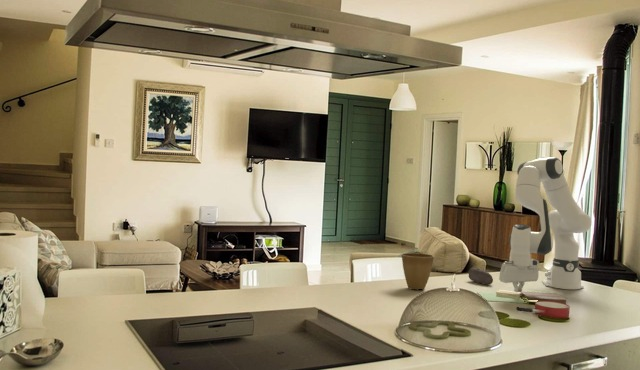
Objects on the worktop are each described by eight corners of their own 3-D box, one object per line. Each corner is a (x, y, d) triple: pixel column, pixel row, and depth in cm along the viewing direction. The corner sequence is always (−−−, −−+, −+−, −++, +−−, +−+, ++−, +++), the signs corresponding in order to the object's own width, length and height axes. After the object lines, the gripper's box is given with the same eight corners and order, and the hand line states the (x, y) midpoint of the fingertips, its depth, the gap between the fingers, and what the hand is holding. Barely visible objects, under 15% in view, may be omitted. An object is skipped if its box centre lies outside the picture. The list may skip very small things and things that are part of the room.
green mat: (477, 292, 288) (477, 292, 288) (517, 294, 287) (517, 294, 287) (486, 301, 270) (486, 300, 270) (529, 303, 269) (529, 302, 269)
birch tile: (498, 293, 286) (498, 289, 286) (520, 296, 282) (521, 292, 282) (496, 295, 281) (496, 291, 281) (519, 298, 277) (519, 294, 277)
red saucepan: (540, 328, 226) (541, 311, 225) (507, 321, 235) (508, 304, 234) (574, 316, 249) (575, 300, 249) (542, 309, 258) (543, 294, 258)
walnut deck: (519, 295, 285) (519, 291, 285) (554, 297, 285) (555, 293, 285) (529, 302, 271) (529, 297, 271) (566, 304, 271) (566, 299, 271)
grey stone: (495, 286, 308) (496, 272, 308) (487, 286, 306) (488, 272, 305) (475, 280, 321) (475, 267, 321) (467, 281, 319) (468, 267, 319)
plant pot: (438, 289, 291) (439, 255, 290) (421, 293, 280) (422, 258, 279) (411, 284, 301) (413, 251, 300) (393, 288, 290) (395, 253, 289)
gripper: (507, 262, 270) (505, 294, 271) (541, 261, 279) (539, 292, 280) (497, 260, 276) (495, 291, 276) (531, 259, 285) (529, 289, 285)
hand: (518, 291), depth 278 cm, fingers closed
